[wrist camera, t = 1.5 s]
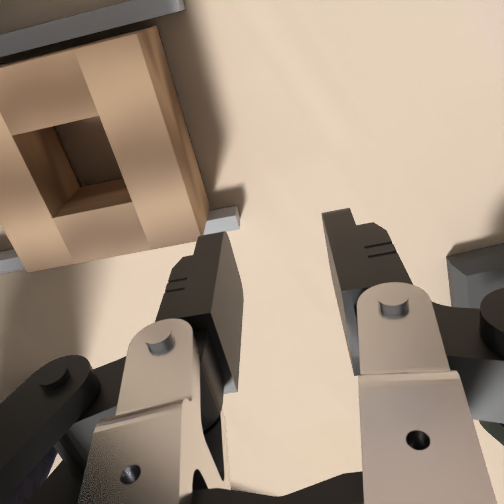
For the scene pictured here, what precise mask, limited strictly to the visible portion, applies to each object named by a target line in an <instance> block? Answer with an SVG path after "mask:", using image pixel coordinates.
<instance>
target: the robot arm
mask: <svg viewBox="0 0 504 504" xmlns="http://www.w3.org/2000/svg"><path fill="white" fill-rule="evenodd" d="M322 220H323V226H324V233H325V239H326V245H327V251H328V257H329V263H330V269H331V275H332V280H333V285H334V289H335V294H336V298H337V302H338V307H339V311H340V316H341V320H342V324H343V329H344V333H345V337H346V342H347V346H348V351H349V355H350V359H351V364H352V368H353V372H354V376H357V375H358V384H359V406H360V427H361V448H362V469H363V471H362V472H354V473H345V474H341V475H339V476H336V477H333V478H331V479H328V480H325V481H323V482H320V483H317V484H315V485H312V486H309V487H307V488H304V489H301V490H299V491H296V492H293V493H291V494H288V495H285V496H280V497H274V496H267V495H261V494H255V493H248V492H242V491H235V490H231V485H230V472H229V459H228V446H227V433H226V420H225V416H224V413H223V410H222V404H223V394H226V393H233V392H238V377H239V362H240V346H241V331H242V316H243V289H242V284H241V279H240V276H239V272H238V268H237V265H236V261H235V258H234V254H233V251H232V247H231V244H230V240H229V237H228V235H227V233H226V231H223V232H218V233H213V234H207V235H202V236H199V237H198V239H197V243H196V247H195V251H194V254H193V255H191V256H186V257H182V259H181V260H180V261H179V262H178V263H177V264H176V265H175V266H174V267H173V268H172V271H171V274H170V277H169V280H168V282H169V283H167V286H166V289H165V293H164V296H163V299H162V302H161V305H160V308H159V311H158V314H157V317H156V320H155V323H152V324H150V325H148V326H147V327H145V328H144V329H142V330H141V331H140V332H138V333H137V334H136V335H135V336H134V338H133V339H132V340H131V342H130V344H129V347H128V351H127V356H125V357H123V358H121V359H119V360H116V361H114V362H111V363H109V364H106V365H104V366H101V367H98V368H96V369H93V368H92V367H91V365H90V363H89V361H88V360H87V359H86V358H85V357H82V356H79V355H70V356H65V357H61V358H58V359H56V360H53V361H51V362H49V363H48V364H46V365H44V366H43V367H41V368H40V369H39V370H37V371H36V372H35V373H34V374H33V375H32V376H31V377H29V378H28V379H27V380H26V381H25V382H24V383H23V384H22V385H21V386H20V387H19V388H17V389H16V390H15V391H14V392H13V393H12V394H11V395H10V396H9V397H8V398H7V399H6V400H4V401H3V402H2V403H1V404H0V504H6V502H7V500H8V498H9V496H10V495H11V493H12V492H13V491H14V489H15V488H16V487H17V486H18V485H19V484H20V483H21V482H22V481H23V479H24V478H25V477H26V476H27V475H28V474H29V473H30V472H31V471H32V469H33V468H34V467H35V466H36V465H37V464H38V463H39V462H40V461H41V459H42V458H43V457H44V456H45V455H46V454H47V453H48V452H49V451H50V450H51V448H52V447H53V446H54V447H55V449H56V450H57V452H58V453H59V455H60V456H61V458H62V459H63V460H62V462H61V463H60V464H59V465H58V466H57V467H56V469H55V470H54V471H53V472H52V473H51V474H50V476H49V477H48V478H47V479H46V480H45V481H44V483H43V484H42V485H41V486H40V487H39V488H38V489H37V491H36V492H35V493H34V494H33V495H32V496H31V498H30V499H29V500H28V501H27V502H26V503H25V504H497V501H496V498H495V494H494V491H493V488H492V484H491V481H490V477H489V474H488V471H487V467H486V464H485V460H484V457H483V453H482V450H481V447H480V443H479V440H478V436H477V433H476V430H475V426H474V423H473V419H475V420H479V422H480V424H481V425H482V426H483V428H484V429H485V430H486V431H487V432H488V433H490V434H491V435H492V436H493V437H494V438H495V439H497V440H498V441H499V442H500V443H501V444H502V445H504V288H501V289H498V290H495V291H493V292H491V293H489V294H487V295H486V296H485V297H484V298H483V300H482V301H481V304H480V309H477V308H458V307H449V306H444V305H440V304H436V303H434V302H431V299H430V297H429V295H428V294H427V293H426V292H425V291H424V290H422V289H421V288H419V287H417V286H414V285H413V284H412V282H411V279H410V277H409V275H408V273H407V271H406V269H405V267H404V265H403V263H402V261H401V259H400V257H399V255H398V253H397V252H396V249H395V247H394V245H393V244H392V241H391V239H390V237H389V235H388V233H387V231H386V230H385V229H383V228H382V227H380V226H378V225H377V224H375V223H374V222H373V223H367V224H362V225H356V224H355V221H354V218H353V216H352V213H351V210H350V208H346V209H341V210H335V211H330V212H325V213H322Z"/></svg>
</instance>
